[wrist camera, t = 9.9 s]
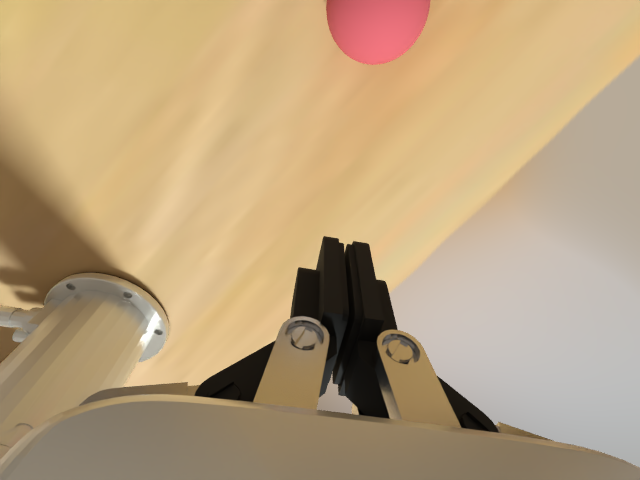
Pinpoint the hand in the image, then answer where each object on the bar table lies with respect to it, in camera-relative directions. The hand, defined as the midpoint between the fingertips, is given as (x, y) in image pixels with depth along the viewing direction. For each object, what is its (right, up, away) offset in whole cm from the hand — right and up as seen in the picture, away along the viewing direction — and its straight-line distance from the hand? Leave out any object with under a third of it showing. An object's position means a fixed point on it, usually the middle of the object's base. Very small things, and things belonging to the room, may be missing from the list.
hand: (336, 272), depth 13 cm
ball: (+3, +15, +7) cm, 17 cm away
